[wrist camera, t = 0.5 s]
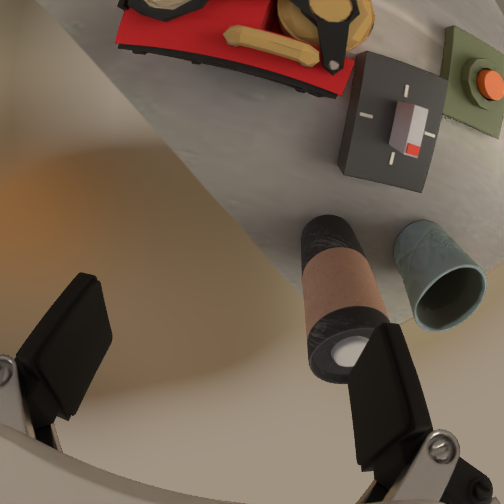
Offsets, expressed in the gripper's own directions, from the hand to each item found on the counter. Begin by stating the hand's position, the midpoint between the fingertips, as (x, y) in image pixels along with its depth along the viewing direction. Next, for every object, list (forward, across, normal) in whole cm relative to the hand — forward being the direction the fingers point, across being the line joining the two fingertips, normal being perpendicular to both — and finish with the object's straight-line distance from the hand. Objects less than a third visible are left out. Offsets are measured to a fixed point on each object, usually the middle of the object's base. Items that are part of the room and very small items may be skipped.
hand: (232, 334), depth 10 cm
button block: (+28, -24, -16) cm, 41 cm away
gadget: (+28, -13, -7) cm, 32 cm away
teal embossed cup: (+29, -24, +9) cm, 38 cm away
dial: (+24, -13, -7) cm, 29 cm away
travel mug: (+29, -10, +10) cm, 32 cm away
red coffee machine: (+29, +3, -14) cm, 32 cm away
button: (+25, -24, -16) cm, 38 cm away
